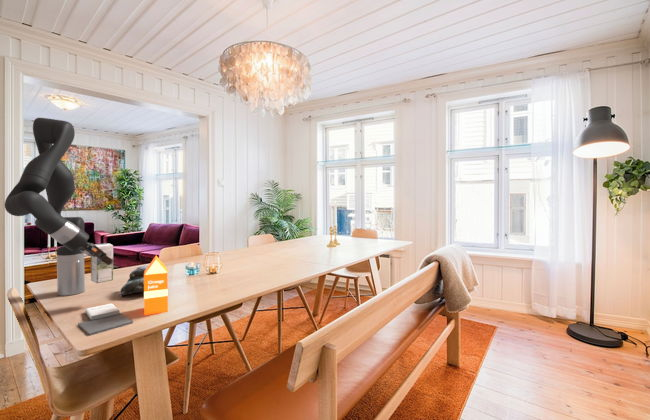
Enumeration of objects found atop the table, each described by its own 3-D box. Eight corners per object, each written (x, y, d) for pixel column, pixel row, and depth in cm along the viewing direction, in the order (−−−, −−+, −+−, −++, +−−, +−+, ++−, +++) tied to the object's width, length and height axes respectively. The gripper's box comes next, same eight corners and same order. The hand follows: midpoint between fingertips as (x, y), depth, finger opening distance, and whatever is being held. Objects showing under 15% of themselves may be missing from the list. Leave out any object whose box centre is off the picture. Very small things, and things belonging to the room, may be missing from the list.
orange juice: (143, 315, 109) (143, 260, 108) (144, 307, 117) (144, 255, 116) (168, 311, 113) (167, 258, 112) (167, 304, 121) (167, 254, 120)
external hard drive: (90, 321, 102) (85, 312, 111) (119, 314, 108) (112, 306, 117) (90, 316, 102) (85, 308, 111) (119, 309, 108) (112, 302, 117)
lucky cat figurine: (112, 296, 128) (117, 265, 134) (137, 300, 139) (141, 270, 145) (139, 289, 124) (143, 257, 130) (163, 293, 135) (165, 263, 141)
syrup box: (107, 278, 124) (107, 242, 123) (113, 280, 120) (113, 244, 120) (90, 281, 119) (90, 244, 118) (96, 283, 116) (96, 246, 115)
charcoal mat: (77, 325, 100) (77, 323, 100) (119, 314, 110) (119, 312, 110) (89, 335, 93) (89, 333, 93) (133, 322, 102) (133, 321, 102)
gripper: (86, 228, 108) (123, 256, 119) (70, 225, 116) (106, 252, 127) (67, 245, 104) (107, 272, 115) (53, 241, 112) (91, 267, 123)
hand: (107, 261), depth 121 cm, fingers closed on syrup box, 6 cm apart
